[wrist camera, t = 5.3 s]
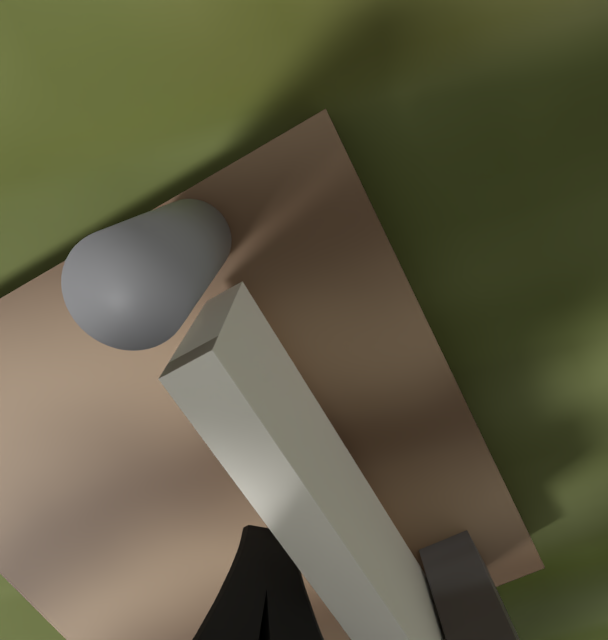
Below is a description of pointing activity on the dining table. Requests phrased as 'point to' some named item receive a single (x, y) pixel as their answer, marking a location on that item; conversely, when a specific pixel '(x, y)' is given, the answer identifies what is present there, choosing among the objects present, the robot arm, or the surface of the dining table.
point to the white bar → (251, 411)
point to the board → (196, 457)
